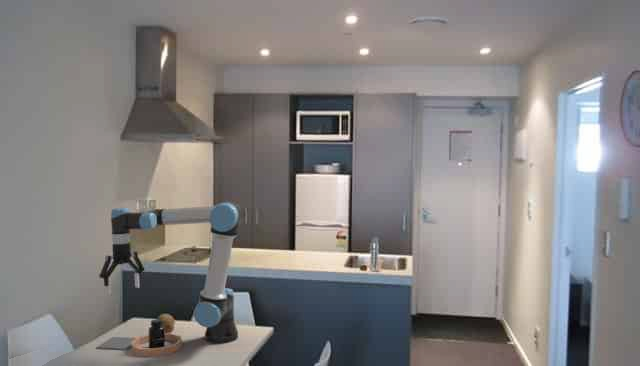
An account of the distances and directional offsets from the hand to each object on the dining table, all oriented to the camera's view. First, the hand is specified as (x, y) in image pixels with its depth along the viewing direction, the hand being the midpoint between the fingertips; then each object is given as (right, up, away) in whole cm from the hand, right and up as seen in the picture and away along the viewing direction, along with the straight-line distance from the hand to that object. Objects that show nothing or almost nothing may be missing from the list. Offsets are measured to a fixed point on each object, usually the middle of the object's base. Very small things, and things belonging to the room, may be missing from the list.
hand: (123, 290), depth 241 cm
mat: (-2, -25, +2) cm, 25 cm away
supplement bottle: (+16, -25, -3) cm, 30 cm away
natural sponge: (+15, -24, +14) cm, 32 cm away
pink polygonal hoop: (+16, -25, -3) cm, 29 cm away
